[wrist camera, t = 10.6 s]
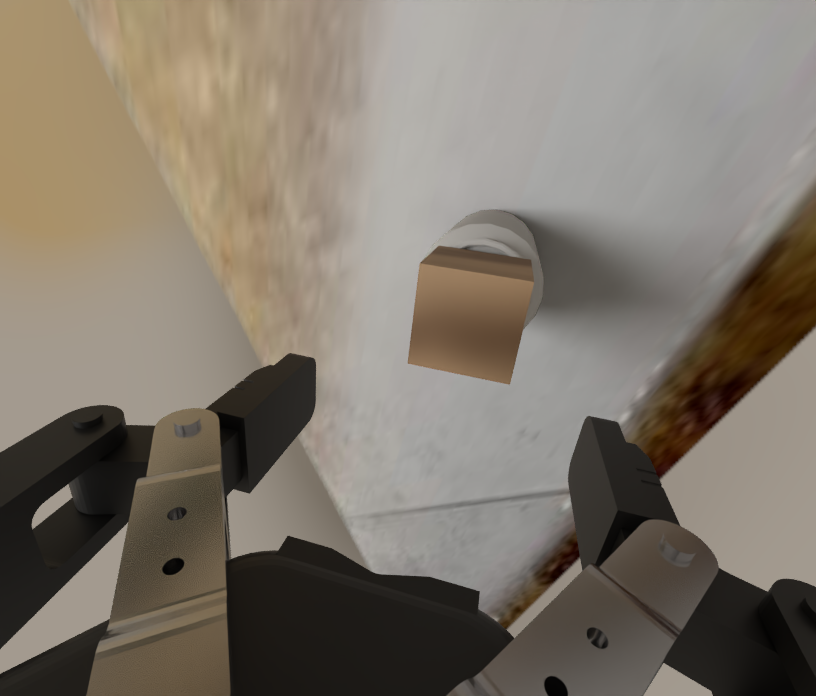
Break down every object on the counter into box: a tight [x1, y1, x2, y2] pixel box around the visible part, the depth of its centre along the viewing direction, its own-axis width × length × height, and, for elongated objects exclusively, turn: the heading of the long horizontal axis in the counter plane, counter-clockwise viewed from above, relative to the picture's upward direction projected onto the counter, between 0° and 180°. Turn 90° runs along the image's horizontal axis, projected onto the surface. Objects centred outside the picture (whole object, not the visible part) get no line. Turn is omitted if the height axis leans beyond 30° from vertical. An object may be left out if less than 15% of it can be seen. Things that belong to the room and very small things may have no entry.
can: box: [424, 210, 544, 329], centre depth 29 cm, size 8×8×12 cm
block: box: [408, 246, 534, 384], centre depth 21 cm, size 5×5×5 cm
